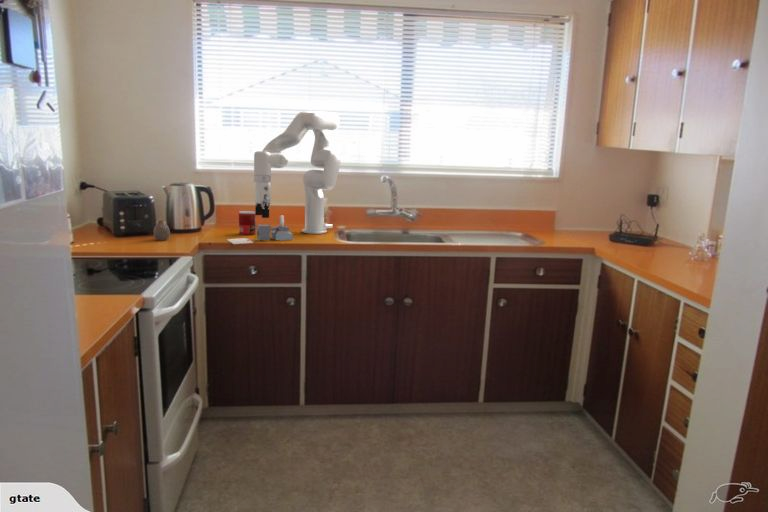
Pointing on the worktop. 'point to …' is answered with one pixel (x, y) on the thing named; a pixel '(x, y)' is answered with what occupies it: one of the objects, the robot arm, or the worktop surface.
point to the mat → (239, 241)
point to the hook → (268, 231)
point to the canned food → (247, 223)
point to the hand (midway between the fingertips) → (262, 216)
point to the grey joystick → (282, 232)
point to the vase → (161, 231)
